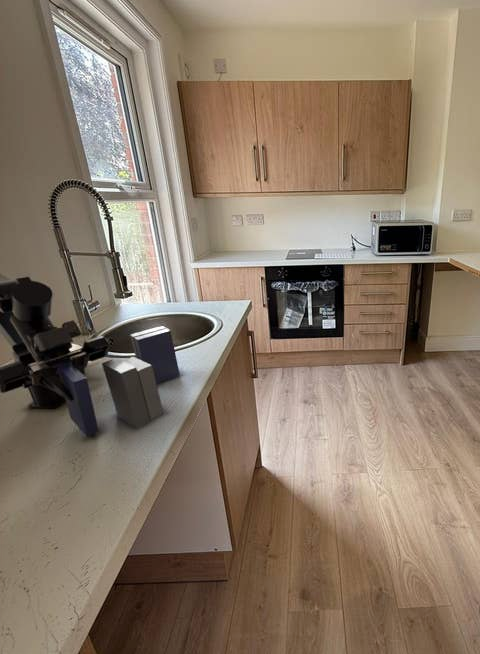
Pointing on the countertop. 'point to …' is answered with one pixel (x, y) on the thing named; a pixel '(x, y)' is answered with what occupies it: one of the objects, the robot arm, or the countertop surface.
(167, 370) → the navy books
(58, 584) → the countertop surface
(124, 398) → the grey books
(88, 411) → the navy book
